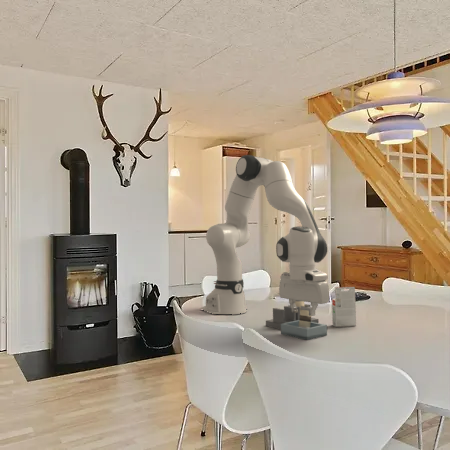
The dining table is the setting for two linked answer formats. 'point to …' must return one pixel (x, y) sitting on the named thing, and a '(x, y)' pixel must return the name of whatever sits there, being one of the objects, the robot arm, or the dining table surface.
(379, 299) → the dining table surface
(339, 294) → the ink box
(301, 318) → the cylinder
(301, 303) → the cylinder
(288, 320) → the fuse holder
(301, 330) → the parts tray
